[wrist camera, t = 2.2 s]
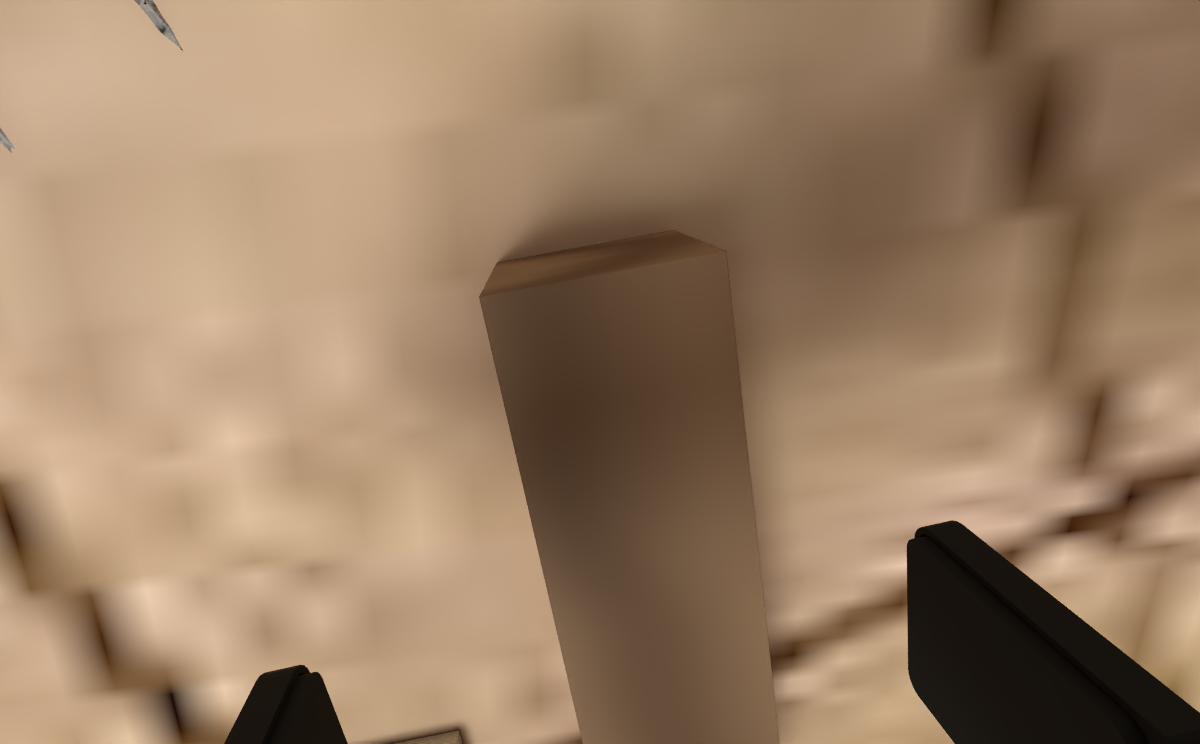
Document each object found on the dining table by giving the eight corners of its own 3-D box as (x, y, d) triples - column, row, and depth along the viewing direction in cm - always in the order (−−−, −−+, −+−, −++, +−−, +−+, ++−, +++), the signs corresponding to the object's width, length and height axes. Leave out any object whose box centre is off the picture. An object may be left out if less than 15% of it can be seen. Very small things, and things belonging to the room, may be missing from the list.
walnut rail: (671, 229, 16) (725, 251, 11) (742, 760, 22) (799, 924, 17) (497, 261, 16) (479, 296, 11) (612, 787, 22) (633, 961, 17)
